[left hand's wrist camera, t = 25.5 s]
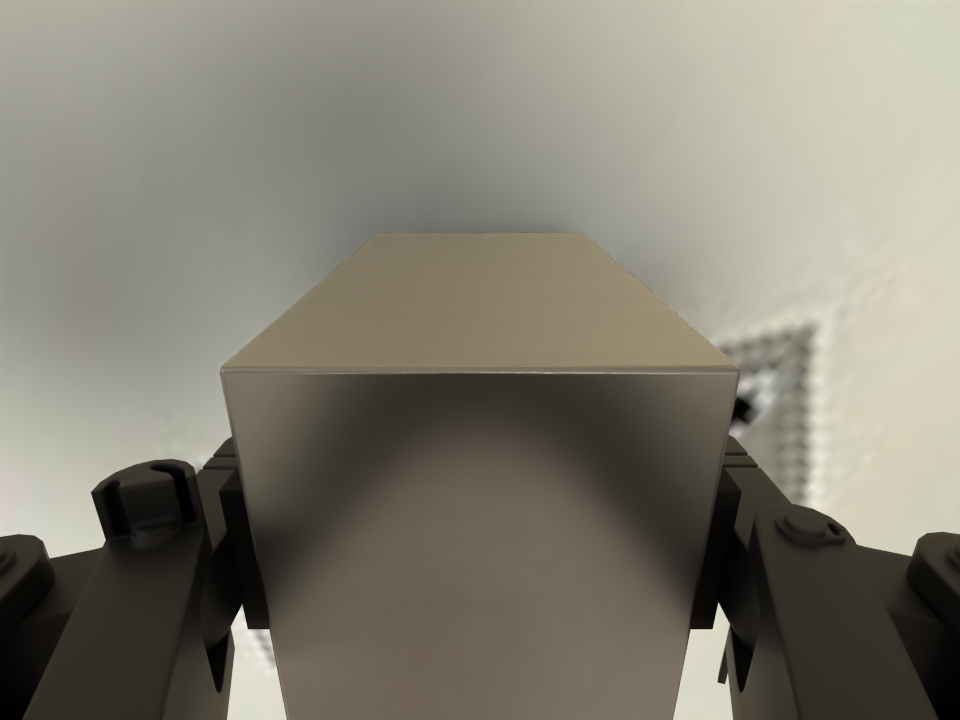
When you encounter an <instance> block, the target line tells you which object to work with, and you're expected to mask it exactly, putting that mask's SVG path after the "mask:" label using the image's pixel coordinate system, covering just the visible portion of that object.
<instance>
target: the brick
mask: <svg viewBox="0 0 960 720" xmlns="http://www.w3.org/2000/svg"><path fill="white" fill-rule="evenodd" d="M220 375H221V381H222V386H223V391H224V396H225V401H226V406H227V412H228V417H229V422H230V427H231V432H232V437H233V443H234V448H235V453H236V458H237V463H238V469H239V474H240V479H241V484H242V489H243V494H244V500H245V505H246V510H247V515H248V520H249V525H250V531H251V536H252V541H253V546H254V551H255V557H256V562H257V567H258V572H259V577H260V582H261V588H262V593H263V598H264V603H265V608H266V613H267V619H268V624H269V629H270V634H271V639H272V645H273V650H274V655H275V660H276V665H277V670H278V676H279V681H280V686H281V691H282V696H283V701H284V707H285V712H286V717H287V720H673V716H674V711H675V706H676V701H677V696H678V691H679V686H680V680H681V675H682V670H683V665H684V660H685V655H686V650H687V644H688V639H689V634H690V629H691V624H692V619H693V614H694V608H695V603H696V598H697V593H698V588H699V583H700V578H701V572H702V567H703V562H704V557H705V552H706V547H707V542H708V536H709V531H710V526H711V521H712V516H713V511H714V506H715V500H716V495H717V490H718V485H719V480H720V475H721V470H722V464H723V459H724V454H725V449H726V444H727V439H728V434H729V428H730V423H731V418H732V413H733V408H734V403H735V398H736V392H737V387H738V382H739V377H740V370H739V367H738V366H737V365H736V364H735V363H733V362H732V361H731V360H730V359H729V358H728V357H726V356H725V355H724V354H723V353H722V352H721V351H719V350H718V349H717V348H716V347H715V346H714V345H712V344H711V343H710V342H709V341H708V340H707V339H705V338H704V337H703V336H702V335H701V334H700V333H698V332H697V331H696V330H695V329H694V328H693V327H691V326H690V325H689V324H688V323H687V322H686V321H684V320H683V319H682V318H681V317H680V316H679V315H677V314H676V313H675V312H674V311H673V310H672V309H670V308H669V307H668V306H667V305H666V304H665V303H663V302H662V301H661V300H660V299H659V298H658V297H657V296H655V295H654V294H653V293H652V292H651V291H650V290H648V289H647V288H646V287H645V286H644V285H643V284H641V283H640V282H639V281H638V280H637V279H636V278H634V277H633V276H632V275H631V274H630V273H629V272H627V271H626V270H625V269H624V268H623V267H622V266H620V265H619V264H618V263H617V262H616V261H615V260H613V259H612V258H611V257H610V256H609V255H608V254H606V253H605V252H604V251H603V250H602V249H601V248H599V247H598V246H597V245H596V244H595V243H594V242H592V241H591V240H590V239H589V238H588V237H587V236H585V235H584V234H583V233H378V234H376V235H375V236H374V237H373V238H372V239H371V240H369V241H368V242H367V243H366V244H365V245H364V246H362V247H361V248H360V249H359V250H358V251H357V252H355V253H354V254H353V255H352V256H351V257H349V258H348V259H347V260H346V261H345V262H344V263H342V264H341V265H340V266H339V267H338V268H337V269H335V270H334V271H333V272H332V273H331V274H330V275H328V276H327V277H326V278H325V279H324V280H323V281H321V282H320V283H319V284H318V285H317V286H315V287H314V288H313V289H312V290H311V291H310V292H308V293H307V294H306V295H305V296H304V297H303V298H301V299H300V300H299V301H298V302H297V303H296V304H294V305H293V306H292V307H291V308H290V309H289V310H287V311H286V312H285V313H284V314H283V315H281V316H280V317H279V318H278V319H277V320H276V321H274V322H273V323H272V324H271V325H270V326H269V327H267V328H266V329H265V330H264V331H263V332H262V333H260V334H259V335H258V336H257V337H256V338H255V339H253V340H252V341H251V342H250V343H249V344H247V345H246V346H245V347H244V348H243V349H242V350H240V351H239V352H238V353H237V354H236V355H235V356H233V357H232V358H231V359H230V360H229V361H228V362H226V363H225V364H224V365H223V366H222V367H221V370H220Z"/></svg>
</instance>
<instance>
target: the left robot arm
mask: <svg viewBox="0 0 960 720" xmlns="http://www.w3.org/2000/svg"><path fill="white" fill-rule="evenodd" d="M91 494H92V498H93V501H94V504H95V507H96V510H97V513H98V516H99V520H100V523H101V526H102V529H103V532H104V535H105V538H106V541H105V543H104V545H103V547H102V548H98V549H94V550H90V551H85V552H80V553H75V554H70V555H65V556H60V557H55V558H50V559H49V556H48V553H47V551H46V548H45V545H44V543H43V541H42V540H40V539H39V538H37V537H36V536H33V535H21V534H17V535H11V536H4V537H0V720H227V714H228V705H229V696H230V687H231V678H232V669H233V660H234V651H235V647H234V641H233V635H232V631H231V625H232V623H233V621H234V619H235V617H236V615H237V613H238V611H239V609H240V607H241V605H242V604H243V608H244V613H245V618H246V622H247V627H248V629H269V624H268V619H267V613H266V608H265V603H264V598H263V593H262V588H261V582H260V577H259V572H258V567H257V562H256V557H255V551H254V546H253V541H252V536H251V531H250V525H249V520H248V515H247V510H246V505H245V500H244V494H243V489H242V484H241V479H240V474H239V469H238V463H237V458H236V453H235V448H234V443H233V437H230V438H229V439H227V440H226V441H225V442H224V443H223V444H222V445H221V447H220V448H219V449H218V450H217V451H216V452H215V454H214V457H213V458H210V459H209V461H208V462H207V463H206V464H205V465H204V466H203V470H200V471H199V472H198V473H197V474H195V469H194V467H193V466H191V465H190V464H189V463H187V462H185V461H180V460H174V459H166V460H153V461H149V462H145V463H140V464H136V465H133V466H131V467H128V468H126V469H123V470H121V471H118V472H116V473H114V474H113V475H111V476H109V477H108V478H106V479H105V480H103V481H101V482H100V483H99V484H98V485H97V486H96V487H95V489H94V490H93V491H92V492H91ZM718 602H719V604H720V606H721V608H722V610H723V611H724V613H725V615H726V617H727V619H728V621H729V623H730V627H729V631H728V635H727V640H726V644H725V648H724V653H723V657H722V662H721V666H720V670H719V676H718V683H722V684H725V682H726V678H727V673H728V676H729V685H730V694H731V703H732V712H733V720H960V534H953V533H947V532H936V533H927V534H925V535H924V536H922V537H921V538H919V539H918V541H917V544H916V547H915V550H914V552H913V555H912V556H907V555H902V554H897V553H892V552H887V551H882V550H878V549H873V548H868V547H864V546H860V545H857V544H856V542H855V540H854V539H853V537H852V536H851V535H850V533H849V532H848V531H847V530H846V528H845V527H843V526H842V525H841V524H839V523H838V522H836V521H835V520H834V519H832V518H831V517H829V516H827V515H825V514H822V513H820V512H818V511H816V510H814V509H811V508H807V507H803V506H799V505H796V504H791V503H790V501H789V500H788V499H787V498H786V497H785V496H784V494H783V493H782V492H781V491H780V490H779V489H778V488H777V486H776V485H775V484H774V483H773V482H772V481H771V480H770V478H769V477H768V476H767V475H766V474H765V473H764V471H763V470H762V469H761V468H758V465H757V463H756V462H755V461H754V460H753V459H752V458H751V456H748V455H747V452H746V451H745V450H744V448H743V447H742V446H741V445H740V444H739V443H738V442H737V440H736V439H735V438H733V437H732V436H730V435H728V439H727V444H726V449H725V454H724V459H723V464H722V470H721V475H720V480H719V485H718V490H717V495H716V500H715V506H714V511H713V516H712V521H711V526H710V531H709V536H708V542H707V547H706V552H705V557H704V562H703V567H702V572H701V578H700V583H699V588H698V593H697V598H696V603H695V608H694V614H693V619H692V624H691V629H713V624H714V620H715V615H716V610H717V606H718Z"/></svg>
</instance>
